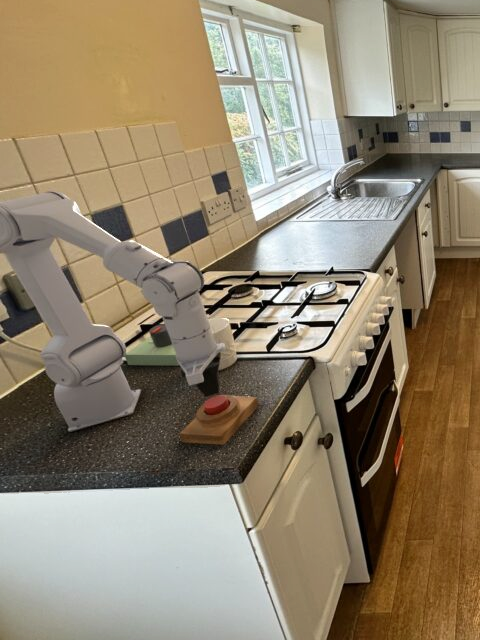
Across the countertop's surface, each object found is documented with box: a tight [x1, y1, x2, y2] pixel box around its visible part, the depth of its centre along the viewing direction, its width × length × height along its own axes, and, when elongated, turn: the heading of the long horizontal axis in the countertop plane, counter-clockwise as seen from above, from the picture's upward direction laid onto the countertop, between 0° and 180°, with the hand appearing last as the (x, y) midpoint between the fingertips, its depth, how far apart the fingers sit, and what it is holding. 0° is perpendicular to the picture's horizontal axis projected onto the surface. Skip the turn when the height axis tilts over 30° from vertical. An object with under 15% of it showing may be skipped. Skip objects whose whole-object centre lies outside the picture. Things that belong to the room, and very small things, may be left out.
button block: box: [179, 394, 260, 446], centre depth 79 cm, size 10×8×4 cm
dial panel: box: [124, 335, 180, 366], centre depth 100 cm, size 12×10×3 cm
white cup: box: [208, 317, 238, 371], centre depth 95 cm, size 8×8×10 cm
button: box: [203, 394, 229, 415], centre depth 78 cm, size 4×4×2 cm
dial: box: [148, 323, 172, 347], centre depth 98 cm, size 4×4×4 cm
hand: (212, 392), depth 77 cm, fingers closed
